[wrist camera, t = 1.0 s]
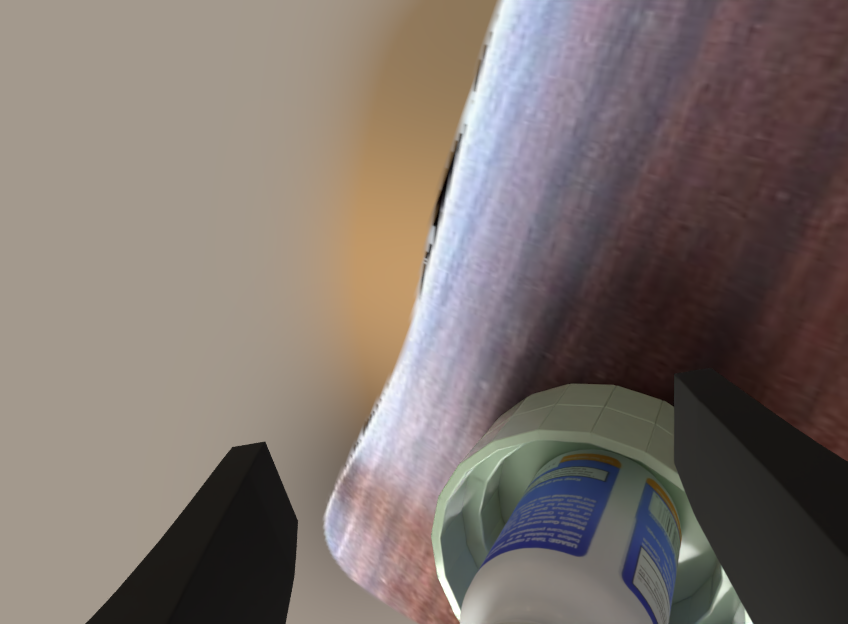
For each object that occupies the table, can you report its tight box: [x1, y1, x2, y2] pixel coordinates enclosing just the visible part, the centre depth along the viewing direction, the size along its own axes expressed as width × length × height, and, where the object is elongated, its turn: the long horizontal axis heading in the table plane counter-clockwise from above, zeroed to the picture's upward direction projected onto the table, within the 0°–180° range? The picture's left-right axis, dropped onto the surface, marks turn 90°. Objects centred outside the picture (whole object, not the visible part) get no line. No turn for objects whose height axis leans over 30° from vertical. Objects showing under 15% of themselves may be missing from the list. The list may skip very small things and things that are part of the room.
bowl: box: [431, 384, 753, 624], centre depth 22 cm, size 10×10×4 cm
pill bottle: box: [460, 449, 682, 624], centre depth 19 cm, size 5×5×10 cm
